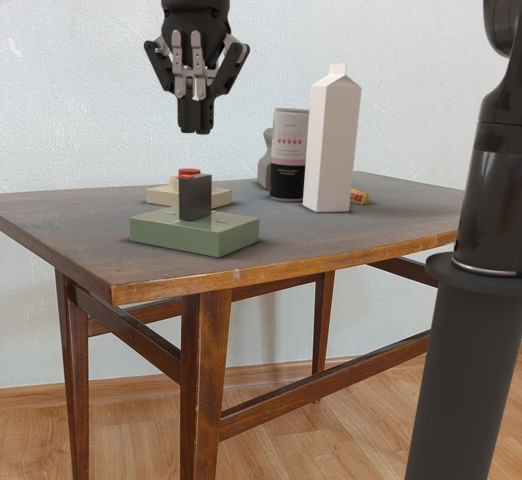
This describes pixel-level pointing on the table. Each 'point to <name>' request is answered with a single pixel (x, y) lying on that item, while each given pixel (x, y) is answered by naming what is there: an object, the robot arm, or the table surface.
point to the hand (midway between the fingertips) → (195, 133)
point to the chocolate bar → (359, 197)
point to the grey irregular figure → (265, 161)
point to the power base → (170, 194)
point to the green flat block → (195, 231)
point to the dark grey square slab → (195, 196)
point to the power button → (188, 172)
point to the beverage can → (288, 154)
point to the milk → (331, 141)
